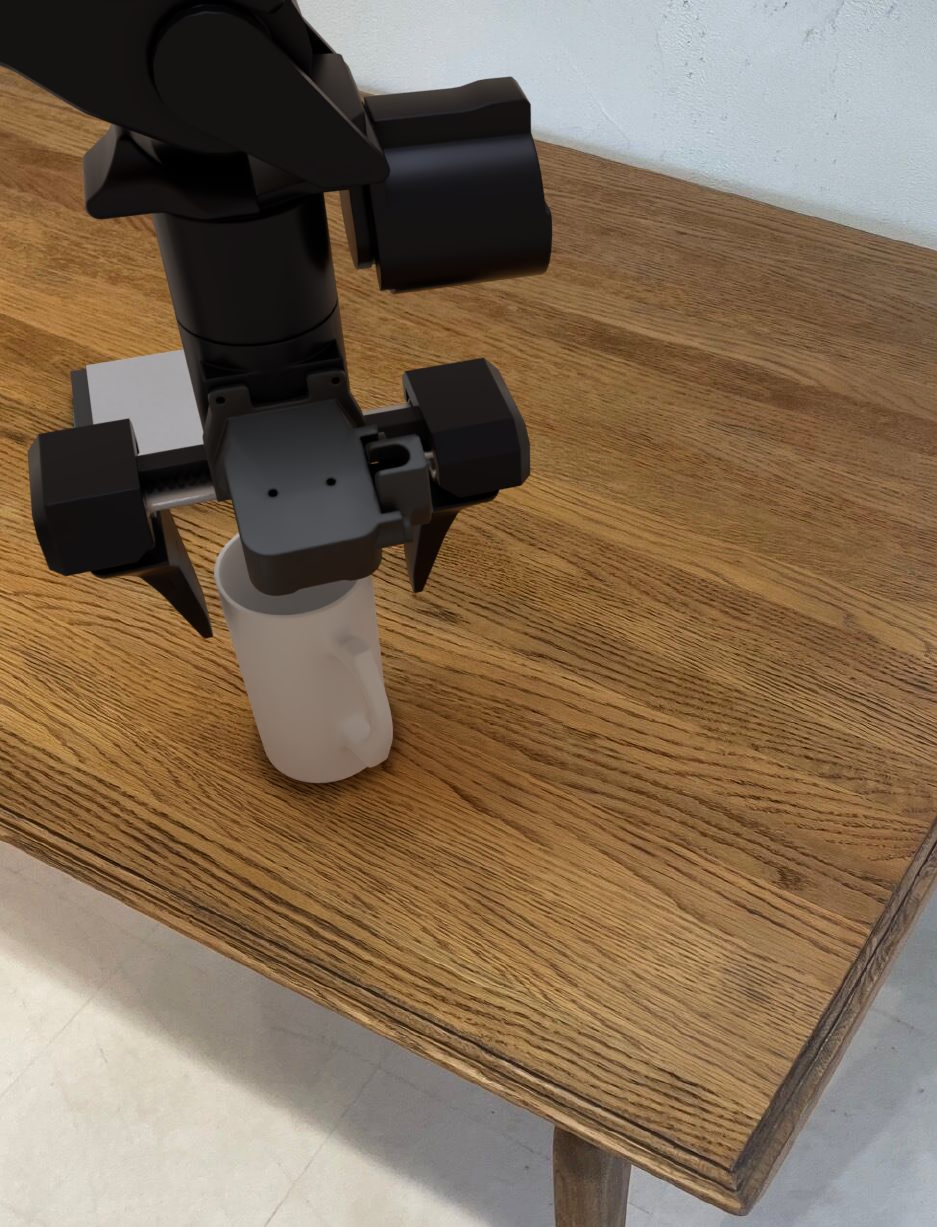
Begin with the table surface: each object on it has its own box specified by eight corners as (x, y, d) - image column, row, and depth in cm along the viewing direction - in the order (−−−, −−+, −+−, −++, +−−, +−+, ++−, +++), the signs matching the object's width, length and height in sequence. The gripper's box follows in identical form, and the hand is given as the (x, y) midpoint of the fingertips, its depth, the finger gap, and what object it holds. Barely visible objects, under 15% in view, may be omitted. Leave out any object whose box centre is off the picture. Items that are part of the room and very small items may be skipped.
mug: (233, 727, 66) (185, 554, 57) (347, 665, 69) (317, 493, 61) (340, 857, 61) (304, 688, 52) (457, 784, 64) (442, 614, 55)
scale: (89, 515, 77) (76, 477, 75) (76, 399, 85) (64, 362, 83) (295, 475, 80) (288, 438, 78) (264, 367, 88) (257, 331, 86)
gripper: (-18, 491, 39) (109, 803, 50) (576, 384, 43) (571, 690, 55) (-24, 296, 46) (88, 607, 57) (486, 223, 51) (497, 522, 62)
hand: (313, 608), depth 57 cm, fingers open, 9 cm apart
